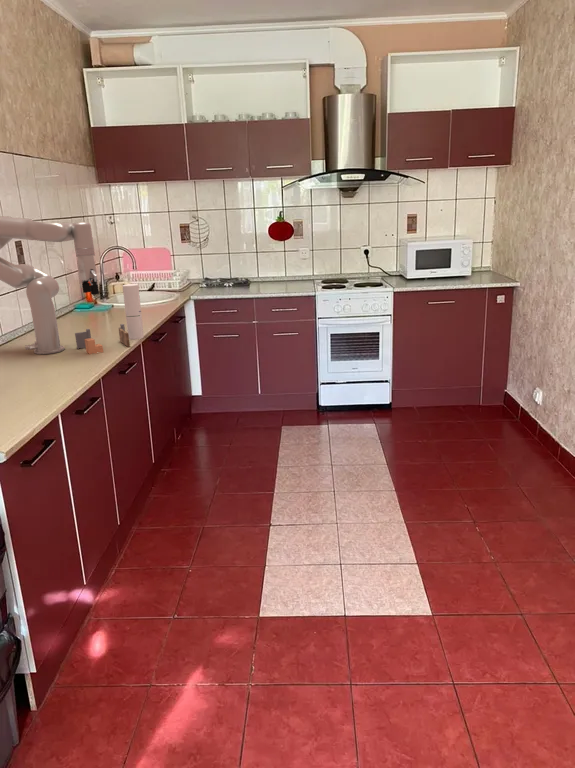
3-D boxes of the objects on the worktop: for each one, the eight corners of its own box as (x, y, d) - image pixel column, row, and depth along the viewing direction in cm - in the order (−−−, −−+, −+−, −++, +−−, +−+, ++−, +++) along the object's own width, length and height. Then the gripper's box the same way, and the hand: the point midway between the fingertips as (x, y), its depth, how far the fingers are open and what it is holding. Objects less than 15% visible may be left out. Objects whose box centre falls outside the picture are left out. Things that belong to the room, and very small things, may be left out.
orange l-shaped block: (89, 354, 251) (87, 340, 249) (86, 352, 255) (84, 339, 253) (103, 352, 254) (101, 338, 252) (100, 350, 258) (98, 337, 256)
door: (119, 341, 272) (118, 327, 271) (122, 340, 273) (120, 327, 271) (127, 346, 261) (126, 332, 259) (129, 346, 261) (128, 332, 259)
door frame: (78, 349, 261) (75, 331, 259) (76, 348, 262) (74, 330, 260) (126, 341, 273) (124, 324, 270) (124, 340, 274) (122, 323, 272)
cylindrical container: (146, 336, 282) (141, 283, 275) (139, 339, 276) (133, 286, 268) (133, 335, 284) (127, 283, 277) (125, 339, 278) (119, 285, 270)
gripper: (69, 252, 251) (75, 292, 256) (83, 254, 238) (89, 296, 243) (86, 251, 256) (92, 290, 261) (101, 252, 242) (107, 294, 247)
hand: (91, 293), depth 252 cm, fingers open, 9 cm apart
